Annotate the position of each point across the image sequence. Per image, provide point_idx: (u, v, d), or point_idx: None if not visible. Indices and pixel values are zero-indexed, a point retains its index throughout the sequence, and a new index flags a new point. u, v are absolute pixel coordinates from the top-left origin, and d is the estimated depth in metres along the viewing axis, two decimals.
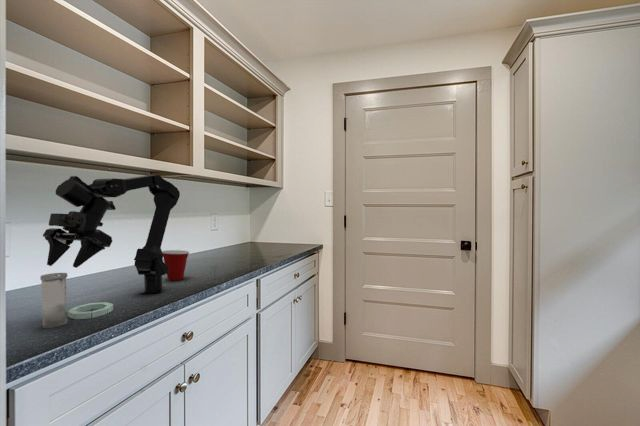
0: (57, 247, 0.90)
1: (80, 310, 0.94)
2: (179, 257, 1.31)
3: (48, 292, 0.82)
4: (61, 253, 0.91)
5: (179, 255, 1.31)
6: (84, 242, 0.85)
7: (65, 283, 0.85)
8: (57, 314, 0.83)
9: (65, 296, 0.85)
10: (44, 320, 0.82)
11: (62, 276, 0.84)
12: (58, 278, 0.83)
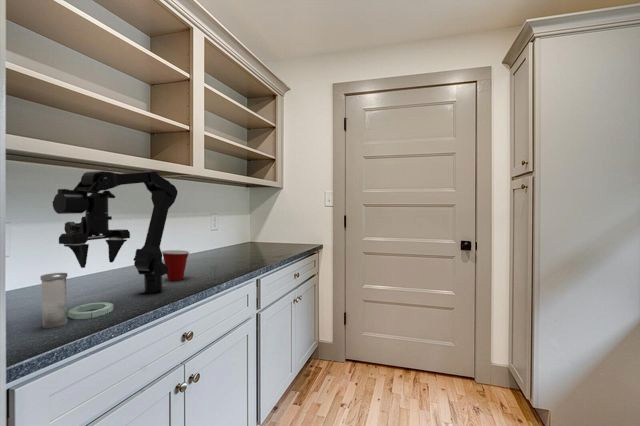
0: (111, 246, 1.03)
1: (80, 310, 0.94)
2: (179, 257, 1.31)
3: (48, 292, 0.82)
4: (115, 249, 1.02)
5: (179, 255, 1.31)
6: None
7: (65, 283, 0.85)
8: (57, 314, 0.83)
9: (65, 296, 0.85)
10: (44, 320, 0.82)
11: (62, 276, 0.84)
12: (58, 278, 0.83)
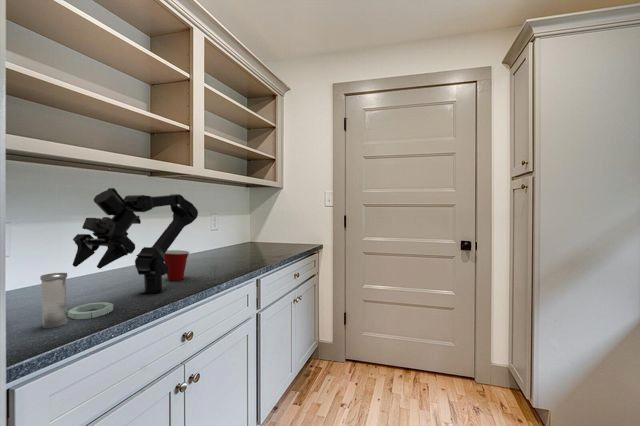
0: (84, 251, 0.97)
1: (80, 310, 0.94)
2: (179, 257, 1.31)
3: (48, 292, 0.82)
4: (86, 256, 0.98)
5: (179, 255, 1.31)
6: (111, 245, 0.93)
7: (65, 283, 0.85)
8: (57, 314, 0.83)
9: (65, 296, 0.85)
10: (44, 320, 0.82)
11: (62, 276, 0.84)
12: (58, 278, 0.83)
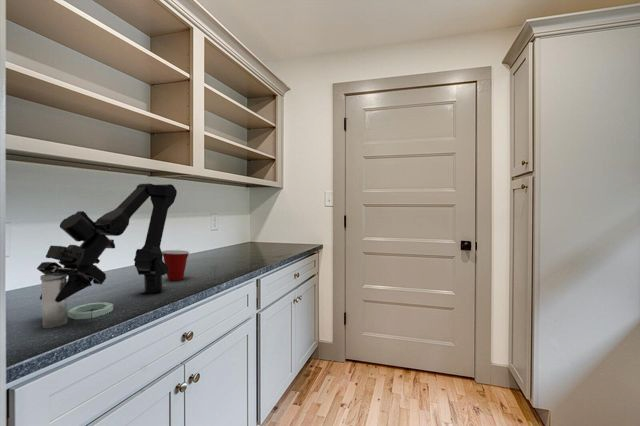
0: None
1: (80, 310, 0.94)
2: (179, 257, 1.31)
3: (48, 292, 0.82)
4: None
5: (179, 255, 1.31)
6: (72, 276, 0.84)
7: (65, 283, 0.85)
8: (57, 314, 0.83)
9: None
10: (44, 320, 0.82)
11: (62, 276, 0.84)
12: (58, 278, 0.83)
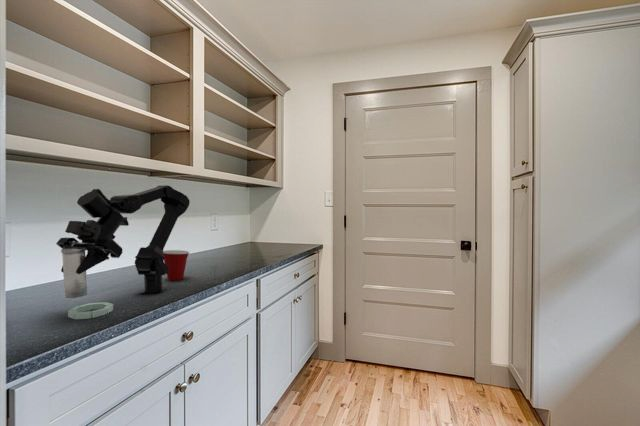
0: None
1: (80, 310, 0.94)
2: (179, 257, 1.31)
3: (69, 265, 0.87)
4: None
5: (179, 255, 1.31)
6: (91, 250, 0.89)
7: (84, 256, 0.90)
8: (78, 285, 0.88)
9: None
10: (66, 291, 0.87)
11: (81, 249, 0.89)
12: (78, 251, 0.88)
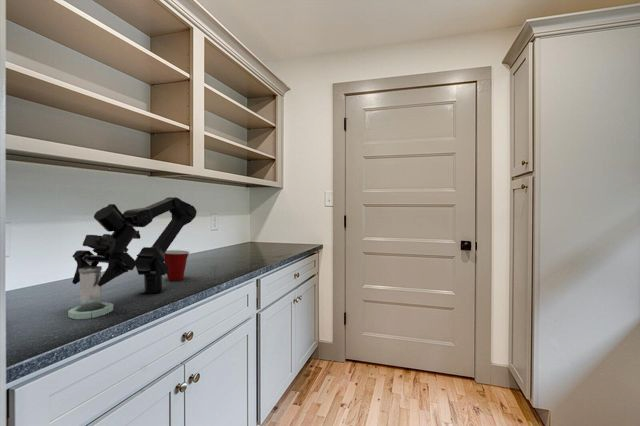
0: None
1: (80, 310, 0.94)
2: (179, 257, 1.31)
3: (86, 284, 0.91)
4: None
5: (179, 255, 1.31)
6: (112, 263, 0.93)
7: (100, 275, 0.94)
8: (94, 303, 0.92)
9: (100, 287, 0.94)
10: (83, 308, 0.91)
11: (98, 269, 0.93)
12: (95, 271, 0.92)
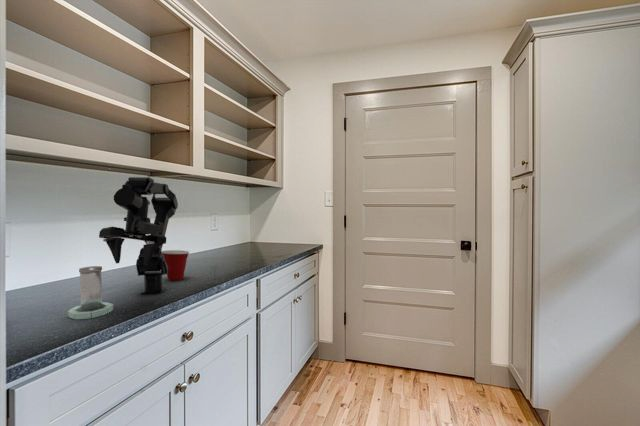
0: None
1: (80, 310, 0.94)
2: (179, 257, 1.31)
3: (86, 284, 0.91)
4: None
5: (179, 255, 1.31)
6: (157, 246, 1.06)
7: (100, 275, 0.94)
8: (94, 303, 0.92)
9: (100, 287, 0.94)
10: (83, 308, 0.91)
11: (98, 269, 0.93)
12: (95, 271, 0.92)
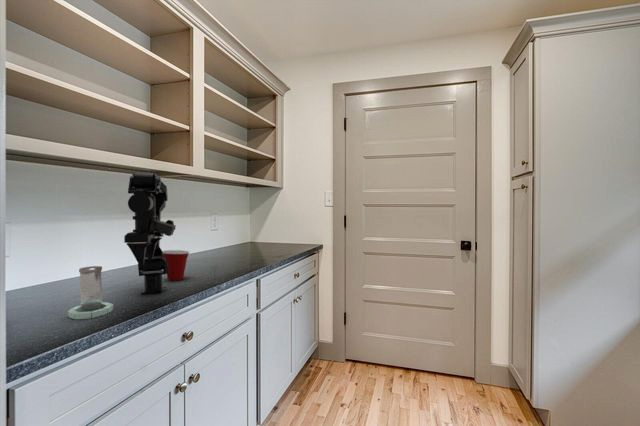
0: None
1: (80, 310, 0.94)
2: (179, 257, 1.31)
3: (86, 284, 0.91)
4: None
5: (179, 255, 1.31)
6: (159, 240, 1.09)
7: (100, 275, 0.94)
8: (94, 303, 0.92)
9: (100, 287, 0.94)
10: (83, 308, 0.91)
11: (98, 269, 0.93)
12: (95, 271, 0.92)
